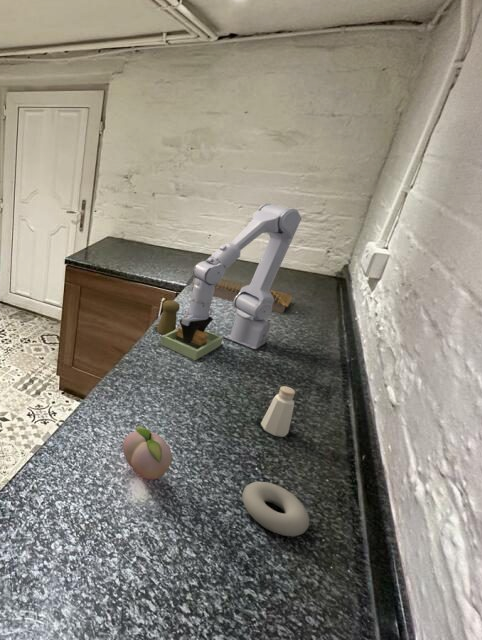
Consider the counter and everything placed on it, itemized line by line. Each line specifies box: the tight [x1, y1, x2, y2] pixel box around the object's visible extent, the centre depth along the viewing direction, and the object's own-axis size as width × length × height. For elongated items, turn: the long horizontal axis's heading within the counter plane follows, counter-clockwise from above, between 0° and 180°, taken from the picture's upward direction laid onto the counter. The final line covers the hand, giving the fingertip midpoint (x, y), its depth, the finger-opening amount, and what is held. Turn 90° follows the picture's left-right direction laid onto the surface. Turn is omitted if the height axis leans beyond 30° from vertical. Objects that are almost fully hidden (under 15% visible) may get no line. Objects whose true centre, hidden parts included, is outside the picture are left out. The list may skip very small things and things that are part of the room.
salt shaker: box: [260, 385, 296, 438], centre depth 89 cm, size 5×5×11 cm
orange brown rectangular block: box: [176, 326, 209, 349], centre depth 126 cm, size 8×4×4 cm, turn 37°
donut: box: [241, 481, 310, 537], centre depth 70 cm, size 10×4×10 cm
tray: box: [160, 328, 224, 361], centre depth 126 cm, size 12×16×3 cm
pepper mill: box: [156, 299, 180, 335], centre depth 133 cm, size 6×6×11 cm
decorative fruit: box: [122, 426, 173, 480], centre depth 77 cm, size 9×8×10 cm
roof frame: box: [190, 278, 294, 314], centre depth 165 cm, size 35×14×6 cm, turn 48°
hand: (191, 339), depth 126 cm, fingers open, 5 cm apart
